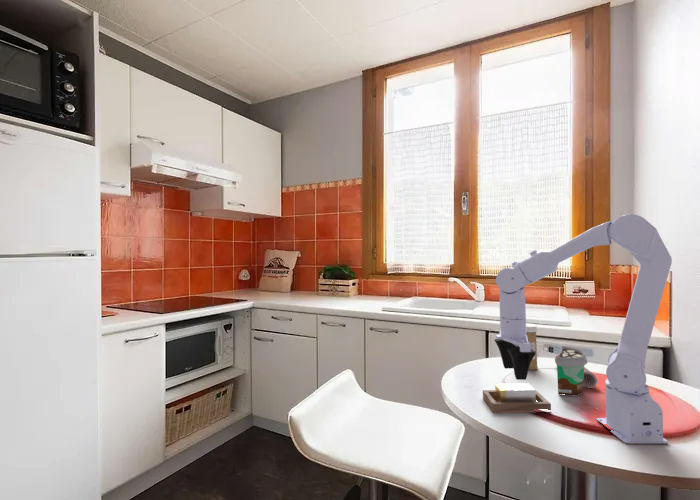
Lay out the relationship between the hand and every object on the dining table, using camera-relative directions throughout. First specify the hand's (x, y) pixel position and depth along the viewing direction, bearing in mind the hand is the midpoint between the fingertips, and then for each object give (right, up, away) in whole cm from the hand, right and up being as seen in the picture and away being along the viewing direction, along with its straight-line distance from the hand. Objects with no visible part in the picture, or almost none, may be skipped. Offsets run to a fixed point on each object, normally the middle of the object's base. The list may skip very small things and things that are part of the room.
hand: (514, 373), depth 88 cm
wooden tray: (0, -8, 0) cm, 8 cm away
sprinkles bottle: (+16, -7, +25) cm, 31 cm away
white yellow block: (0, -7, 0) cm, 7 cm away
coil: (+25, -7, +17) cm, 31 cm away
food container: (+19, -7, +7) cm, 21 cm away
